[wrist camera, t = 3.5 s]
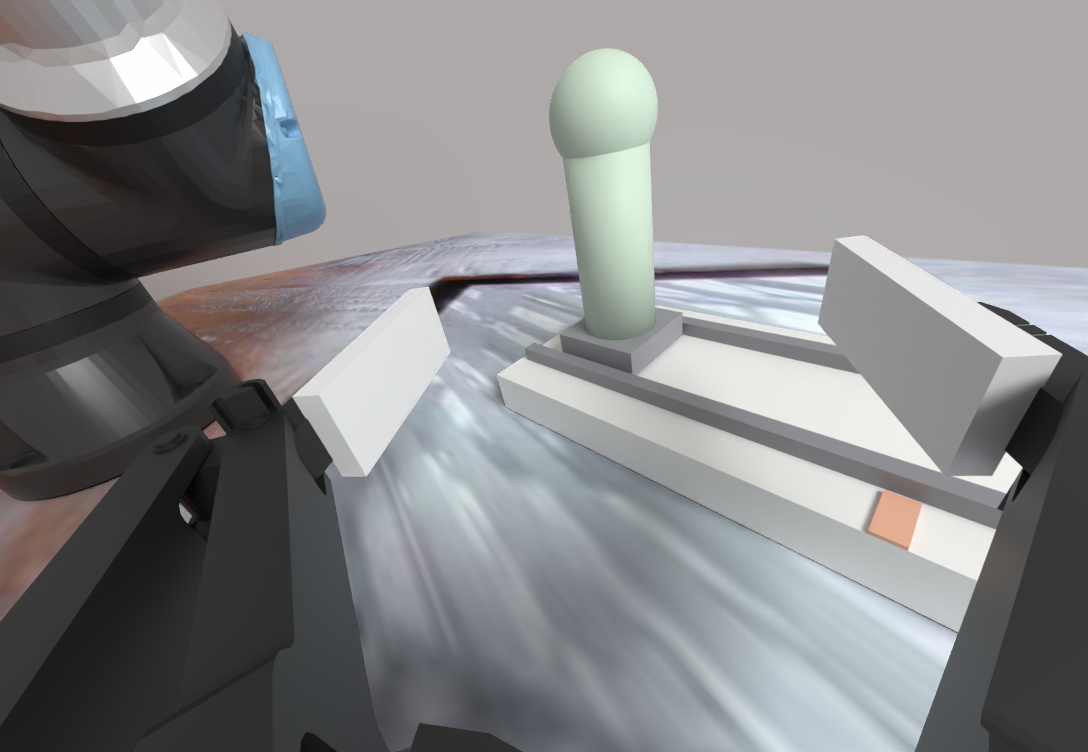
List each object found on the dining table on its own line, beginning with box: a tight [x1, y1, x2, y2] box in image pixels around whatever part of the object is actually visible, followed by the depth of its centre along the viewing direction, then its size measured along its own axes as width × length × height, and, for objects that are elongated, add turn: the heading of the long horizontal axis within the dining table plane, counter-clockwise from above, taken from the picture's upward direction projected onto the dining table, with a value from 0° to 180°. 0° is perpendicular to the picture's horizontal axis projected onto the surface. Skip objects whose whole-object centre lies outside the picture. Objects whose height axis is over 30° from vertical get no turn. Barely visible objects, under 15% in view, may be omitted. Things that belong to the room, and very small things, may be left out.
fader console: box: [497, 305, 1023, 632], centre depth 20 cm, size 26×12×3 cm, turn 46°
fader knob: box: [549, 49, 683, 375], centre depth 21 cm, size 5×5×14 cm
